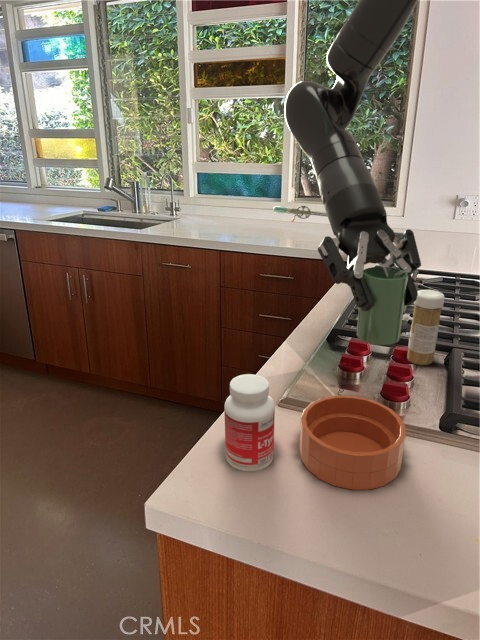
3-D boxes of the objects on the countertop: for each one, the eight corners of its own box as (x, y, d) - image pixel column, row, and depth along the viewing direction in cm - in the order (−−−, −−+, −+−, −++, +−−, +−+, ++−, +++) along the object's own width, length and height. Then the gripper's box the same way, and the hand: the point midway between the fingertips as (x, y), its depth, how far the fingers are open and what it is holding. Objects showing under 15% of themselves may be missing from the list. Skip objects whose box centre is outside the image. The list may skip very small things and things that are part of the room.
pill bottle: (263, 480, 55) (264, 401, 51) (217, 467, 58) (214, 390, 53) (280, 449, 61) (282, 376, 56) (237, 438, 63) (236, 366, 59)
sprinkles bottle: (409, 357, 84) (419, 287, 79) (435, 363, 82) (447, 291, 77) (401, 367, 81) (411, 294, 76) (428, 374, 78) (441, 299, 73)
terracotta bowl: (365, 422, 66) (369, 388, 64) (421, 480, 55) (428, 442, 53) (285, 439, 63) (286, 404, 61) (327, 504, 52) (330, 465, 50)
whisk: (341, 233, 200) (343, 220, 195) (269, 225, 207) (269, 212, 202) (344, 220, 207) (346, 207, 202) (274, 212, 214) (274, 199, 209)
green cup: (384, 325, 66) (391, 264, 63) (408, 341, 61) (418, 276, 58) (348, 330, 65) (354, 268, 61) (371, 347, 60) (378, 281, 56)
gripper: (313, 183, 60) (353, 299, 54) (407, 178, 64) (454, 286, 58) (295, 217, 67) (328, 324, 61) (381, 211, 71) (421, 310, 65)
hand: (389, 305), depth 60 cm, fingers closed on green cup, 5 cm apart
